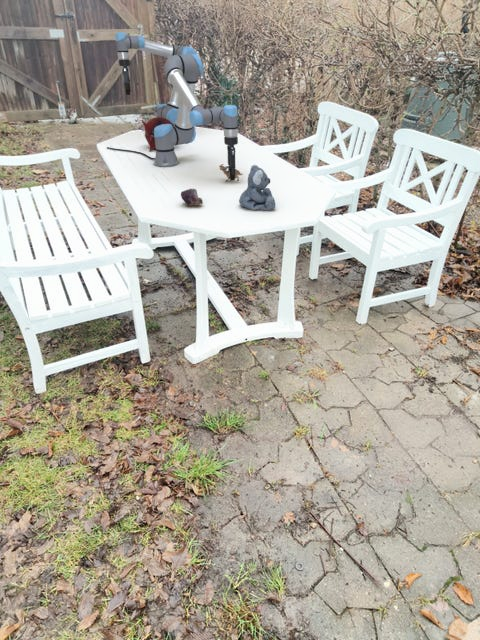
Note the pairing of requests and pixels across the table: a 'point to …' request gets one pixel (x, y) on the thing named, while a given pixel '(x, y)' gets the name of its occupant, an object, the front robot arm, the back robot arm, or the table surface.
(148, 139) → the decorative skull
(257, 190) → the koala plush
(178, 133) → the front robot arm
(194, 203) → the rock
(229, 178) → the dinosaur figurine
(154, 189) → the table surface
